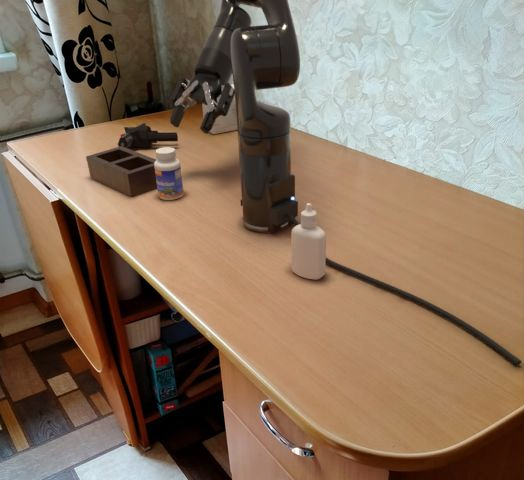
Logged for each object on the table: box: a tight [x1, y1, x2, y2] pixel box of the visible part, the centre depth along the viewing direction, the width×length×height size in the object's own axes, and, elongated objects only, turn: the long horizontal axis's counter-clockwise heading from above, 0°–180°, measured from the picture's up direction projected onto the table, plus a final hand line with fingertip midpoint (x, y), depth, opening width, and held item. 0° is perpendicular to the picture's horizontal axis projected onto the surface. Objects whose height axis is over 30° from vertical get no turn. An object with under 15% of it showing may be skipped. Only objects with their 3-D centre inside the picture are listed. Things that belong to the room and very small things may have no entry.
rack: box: [85, 146, 157, 198], centre depth 129 cm, size 17×9×5 cm, turn 44°
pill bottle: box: [154, 146, 184, 201], centre depth 120 cm, size 5×5×10 cm
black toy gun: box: [117, 122, 179, 149], centre depth 148 cm, size 5×20×15 cm
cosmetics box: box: [201, 83, 238, 135], centre depth 156 cm, size 10×6×10 cm, turn 119°
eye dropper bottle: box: [290, 202, 327, 281], centre depth 91 cm, size 4×6×12 cm
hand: (188, 128), depth 120 cm, fingers open, 8 cm apart
